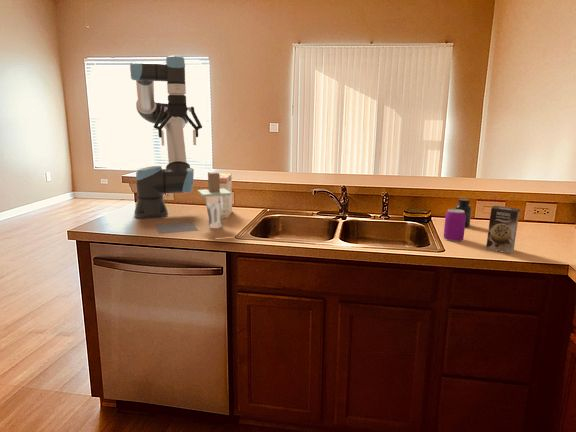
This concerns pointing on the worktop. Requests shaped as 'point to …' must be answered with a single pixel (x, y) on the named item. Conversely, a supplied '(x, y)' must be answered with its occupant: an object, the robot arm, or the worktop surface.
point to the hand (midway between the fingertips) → (179, 145)
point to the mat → (175, 227)
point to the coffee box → (502, 228)
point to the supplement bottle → (465, 209)
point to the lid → (213, 187)
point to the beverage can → (454, 225)
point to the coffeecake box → (227, 200)
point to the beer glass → (214, 211)
